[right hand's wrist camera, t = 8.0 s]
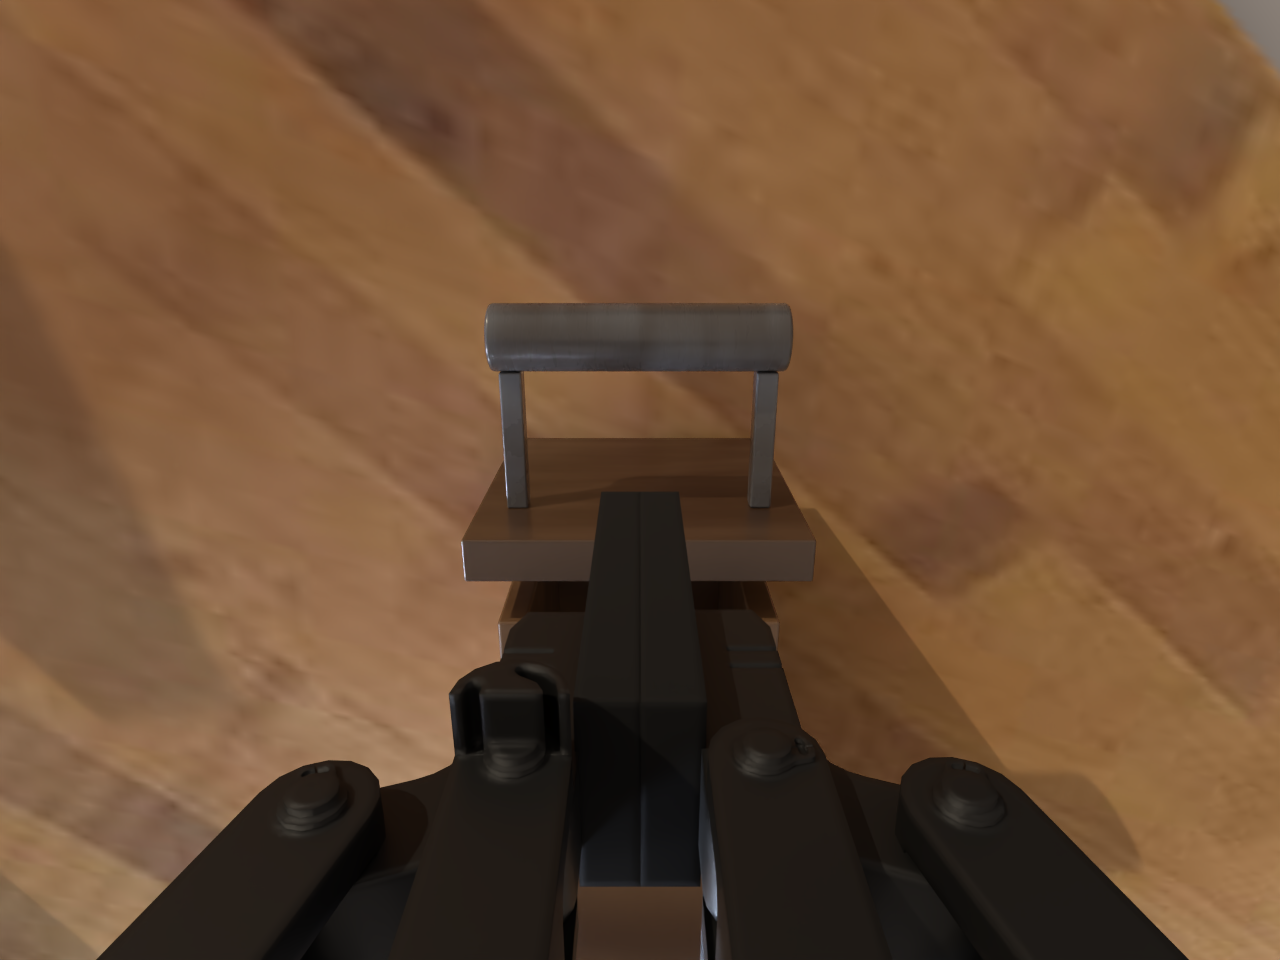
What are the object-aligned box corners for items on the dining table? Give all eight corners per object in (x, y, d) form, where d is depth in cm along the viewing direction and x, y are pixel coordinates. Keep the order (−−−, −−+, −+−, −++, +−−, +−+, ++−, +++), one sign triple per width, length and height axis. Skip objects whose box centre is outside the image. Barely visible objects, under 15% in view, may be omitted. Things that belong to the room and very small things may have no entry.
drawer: (505, 279, 26) (440, 316, 18) (772, 279, 26) (836, 316, 18) (537, 817, 34) (503, 1020, 26) (740, 817, 34) (774, 1020, 26)
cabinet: (515, 625, 32) (456, 826, 22) (762, 625, 32) (821, 825, 22) (536, 953, 38) (499, 1225, 28) (741, 953, 38) (778, 1226, 28)
